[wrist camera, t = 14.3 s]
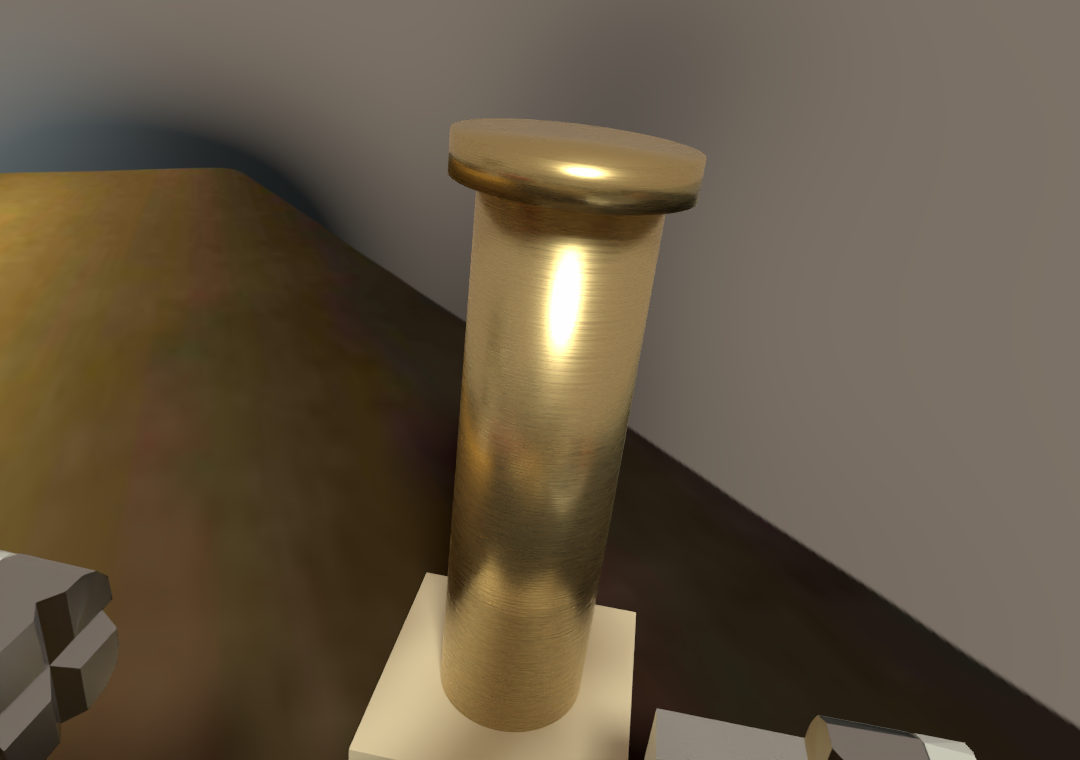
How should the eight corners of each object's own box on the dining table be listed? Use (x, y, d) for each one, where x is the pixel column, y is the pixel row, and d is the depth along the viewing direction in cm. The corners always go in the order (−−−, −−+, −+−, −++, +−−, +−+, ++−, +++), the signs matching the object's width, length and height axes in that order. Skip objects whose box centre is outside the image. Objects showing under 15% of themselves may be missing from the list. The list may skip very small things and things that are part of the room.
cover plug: (393, 728, 23) (417, 139, 16) (445, 595, 28) (481, 110, 21) (593, 771, 22) (713, 179, 15) (608, 626, 28) (701, 140, 21)
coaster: (348, 773, 23) (349, 749, 22) (425, 593, 30) (426, 572, 29) (620, 831, 22) (625, 808, 22) (631, 632, 29) (636, 612, 29)
